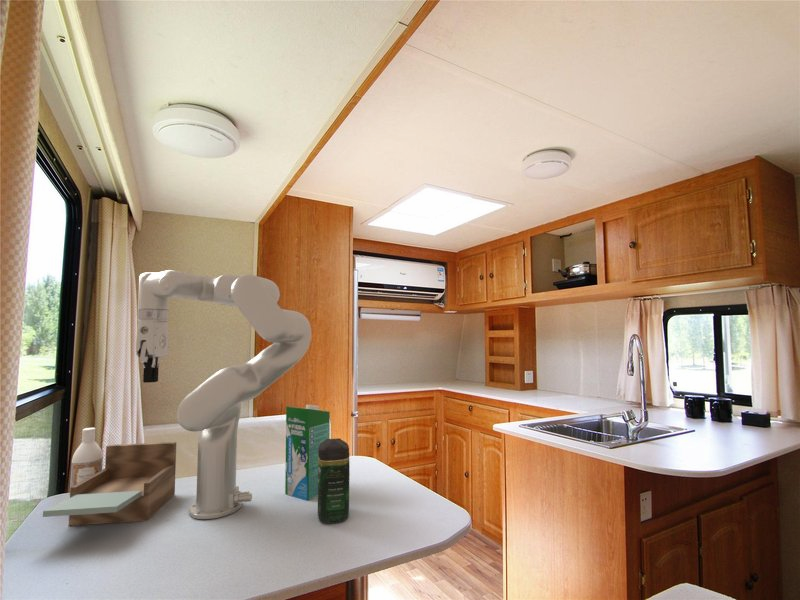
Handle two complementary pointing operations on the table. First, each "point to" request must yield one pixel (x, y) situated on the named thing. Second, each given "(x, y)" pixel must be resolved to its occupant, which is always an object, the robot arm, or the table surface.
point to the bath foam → (86, 458)
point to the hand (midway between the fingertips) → (150, 381)
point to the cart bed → (131, 481)
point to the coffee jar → (333, 481)
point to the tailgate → (93, 503)
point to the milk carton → (304, 449)
